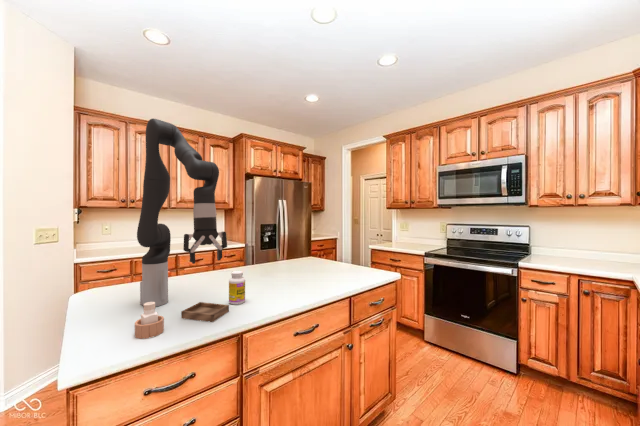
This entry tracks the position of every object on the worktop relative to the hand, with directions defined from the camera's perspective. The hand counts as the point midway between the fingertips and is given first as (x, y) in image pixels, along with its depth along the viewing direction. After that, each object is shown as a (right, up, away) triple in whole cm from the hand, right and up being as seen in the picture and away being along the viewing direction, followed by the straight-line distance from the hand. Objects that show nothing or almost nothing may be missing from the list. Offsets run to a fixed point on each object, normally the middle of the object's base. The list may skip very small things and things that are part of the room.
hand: (206, 261), depth 96 cm
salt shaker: (-14, -21, -10) cm, 27 cm away
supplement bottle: (+5, -21, +18) cm, 28 cm away
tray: (-2, -21, +5) cm, 21 cm away
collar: (-14, -21, -10) cm, 27 cm away
